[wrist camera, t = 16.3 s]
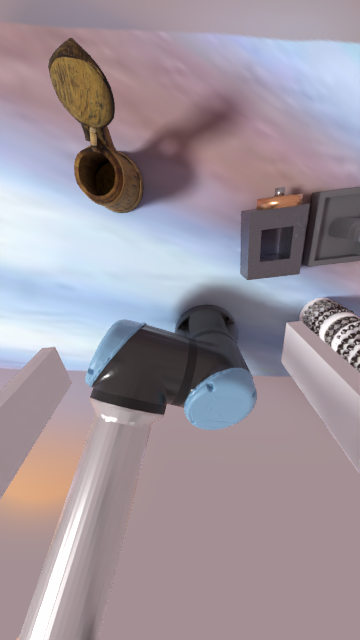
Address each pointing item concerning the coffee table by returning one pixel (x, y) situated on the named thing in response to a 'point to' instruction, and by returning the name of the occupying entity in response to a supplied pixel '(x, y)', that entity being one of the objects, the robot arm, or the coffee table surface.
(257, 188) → the coffee table surface
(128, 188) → the wooden mug
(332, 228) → the lock pin
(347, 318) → the decorative candle
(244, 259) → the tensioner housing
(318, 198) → the tray
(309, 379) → the robot arm
